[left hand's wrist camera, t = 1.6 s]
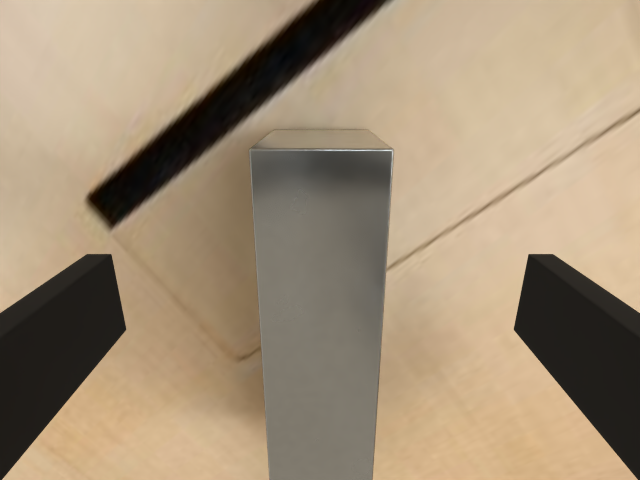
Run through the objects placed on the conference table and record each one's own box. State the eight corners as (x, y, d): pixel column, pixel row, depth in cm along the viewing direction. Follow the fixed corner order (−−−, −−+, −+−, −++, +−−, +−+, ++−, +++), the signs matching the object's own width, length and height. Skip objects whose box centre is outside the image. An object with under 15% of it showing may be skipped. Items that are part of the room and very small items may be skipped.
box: (273, 129, 23) (248, 148, 15) (369, 129, 23) (394, 148, 15) (284, 413, 31) (271, 525, 23) (357, 413, 31) (369, 525, 23)
